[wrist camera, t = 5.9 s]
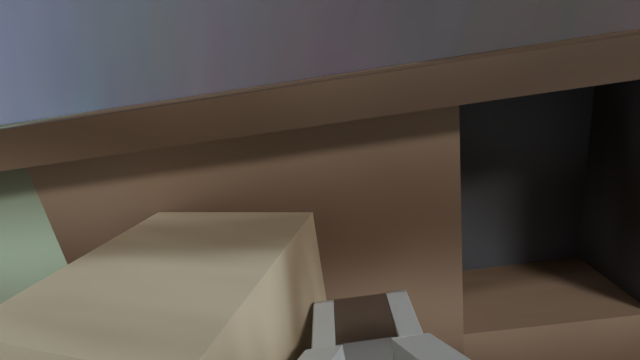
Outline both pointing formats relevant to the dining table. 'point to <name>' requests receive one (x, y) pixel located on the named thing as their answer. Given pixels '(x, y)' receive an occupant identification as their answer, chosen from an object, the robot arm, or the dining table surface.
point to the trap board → (383, 188)
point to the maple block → (177, 293)
